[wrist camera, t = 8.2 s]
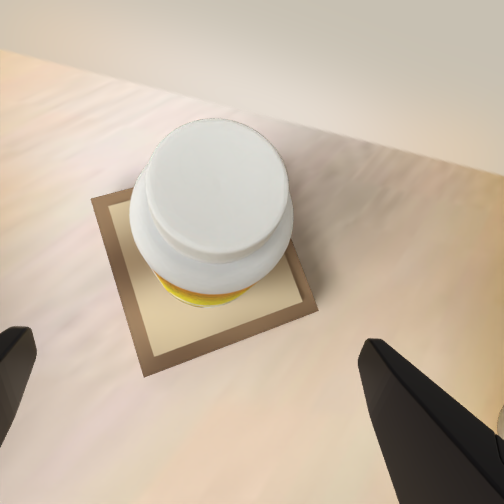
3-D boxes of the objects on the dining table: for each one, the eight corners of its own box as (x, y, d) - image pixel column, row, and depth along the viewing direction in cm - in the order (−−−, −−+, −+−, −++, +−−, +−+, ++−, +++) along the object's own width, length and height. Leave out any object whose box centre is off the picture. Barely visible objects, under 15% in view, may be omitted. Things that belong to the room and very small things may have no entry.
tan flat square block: (307, 312, 22) (320, 310, 20) (148, 372, 20) (143, 378, 18) (253, 168, 23) (259, 152, 21) (100, 210, 21) (89, 196, 19)
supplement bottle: (274, 278, 20) (354, 227, 10) (183, 328, 18) (172, 325, 9) (227, 193, 20) (258, 66, 11) (136, 235, 19) (75, 133, 9)
